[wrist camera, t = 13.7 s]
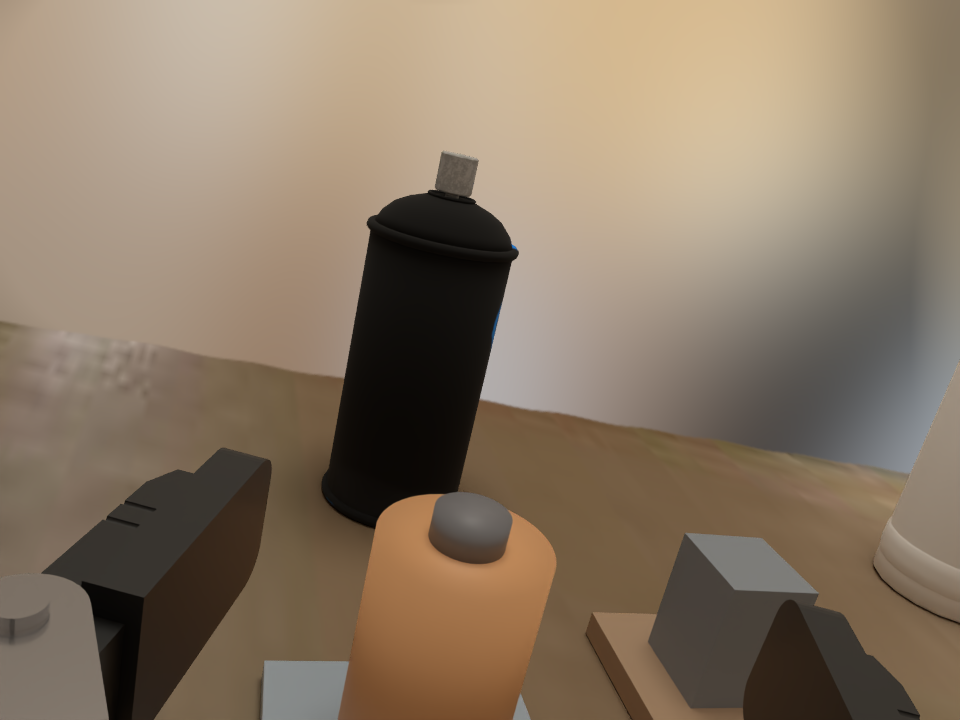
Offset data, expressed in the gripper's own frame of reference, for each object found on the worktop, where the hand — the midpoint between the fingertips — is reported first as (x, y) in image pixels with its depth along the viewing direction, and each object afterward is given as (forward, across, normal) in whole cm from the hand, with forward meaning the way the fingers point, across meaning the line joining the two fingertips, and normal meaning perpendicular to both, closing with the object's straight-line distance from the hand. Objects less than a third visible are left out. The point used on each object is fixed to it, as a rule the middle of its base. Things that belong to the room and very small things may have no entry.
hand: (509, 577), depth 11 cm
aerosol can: (+29, +5, +16) cm, 34 cm away
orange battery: (+10, 0, +15) cm, 18 cm away
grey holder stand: (+18, -11, +16) cm, 27 cm away
